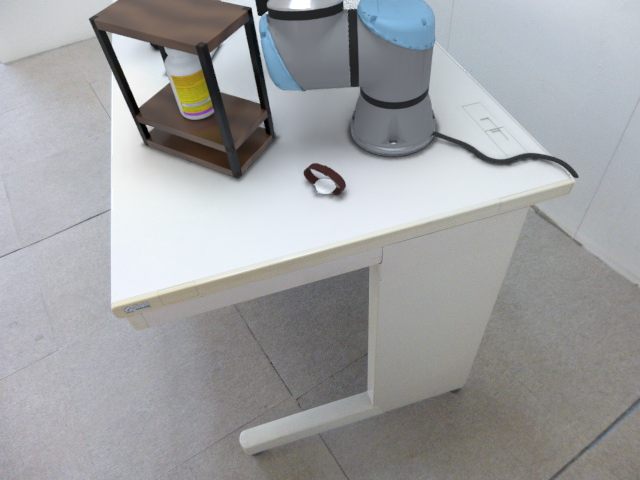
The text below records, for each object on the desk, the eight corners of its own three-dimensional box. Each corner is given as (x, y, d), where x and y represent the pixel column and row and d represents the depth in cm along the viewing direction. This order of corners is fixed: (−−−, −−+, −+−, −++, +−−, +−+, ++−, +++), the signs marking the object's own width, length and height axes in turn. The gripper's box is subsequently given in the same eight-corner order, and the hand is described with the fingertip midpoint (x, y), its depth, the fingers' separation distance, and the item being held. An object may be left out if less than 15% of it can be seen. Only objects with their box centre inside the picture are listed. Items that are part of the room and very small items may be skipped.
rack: (184, 108, 101) (142, -16, 82) (275, 137, 93) (251, 7, 74) (144, 144, 95) (88, 18, 76) (238, 178, 87) (201, 47, 68)
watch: (314, 171, 86) (302, 187, 85) (307, 155, 82) (294, 172, 81) (351, 189, 83) (338, 206, 82) (345, 173, 79) (332, 191, 78)
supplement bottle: (224, 111, 88) (206, 42, 78) (190, 126, 86) (167, 58, 76) (208, 93, 91) (188, 26, 81) (175, 108, 89) (150, 40, 79)
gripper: (348, -19, 95) (290, 35, 84) (241, -36, 104) (176, 10, 93) (347, -62, 89) (284, -10, 78) (234, -77, 98) (163, -32, 87)
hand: (225, 1), depth 85 cm, fingers open, 13 cm apart
